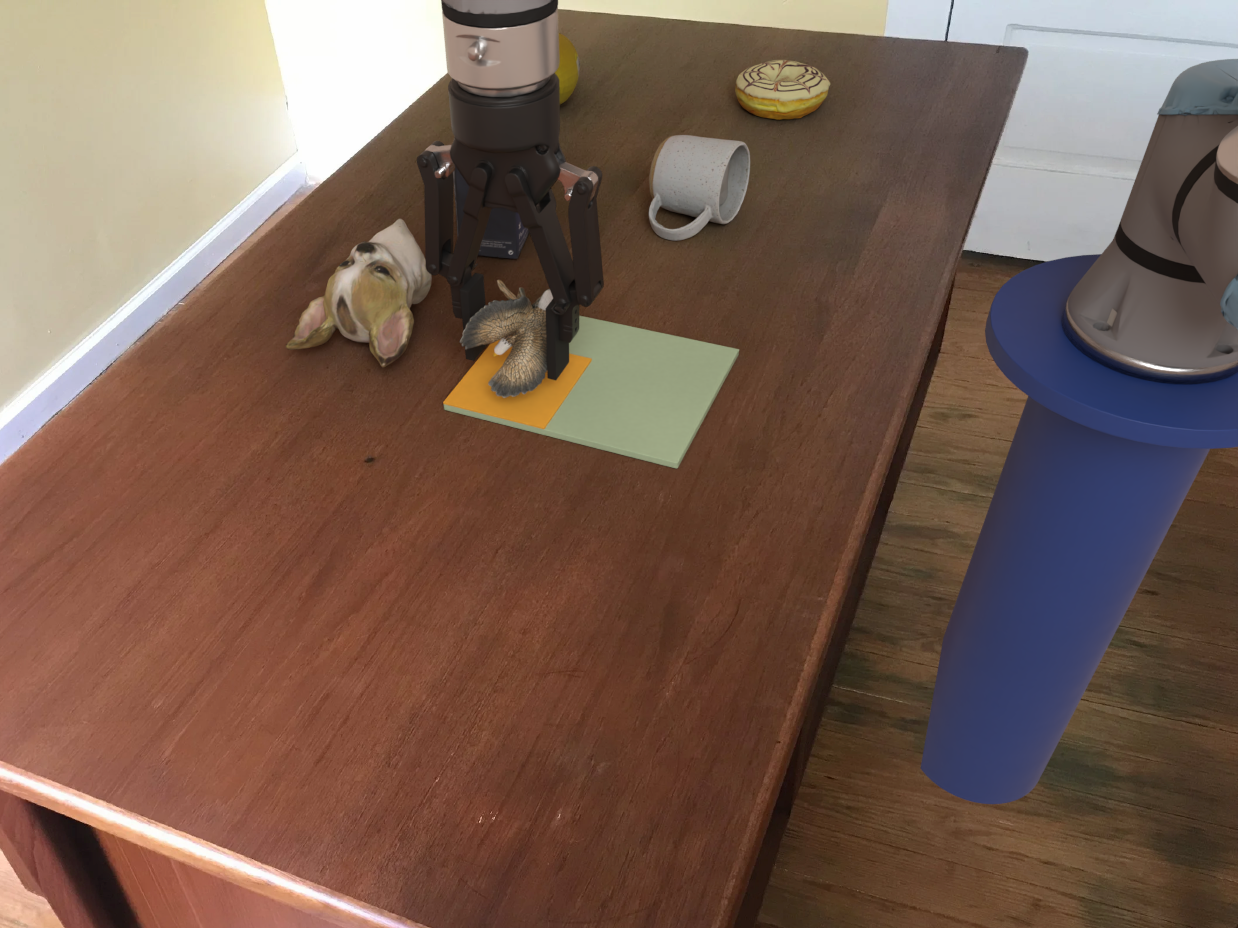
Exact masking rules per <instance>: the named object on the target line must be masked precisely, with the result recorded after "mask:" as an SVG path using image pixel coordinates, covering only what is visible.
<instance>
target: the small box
mask: <svg viewBox="0 0 1238 928" xmlns="http://www.w3.org/2000/svg"><path fill="white" fill-rule="evenodd" d="M453 178H454V203H455V218H456V219H455V220H456V221H455V222H456V235H457V237H456V239H457V238H458V234H459V230H460V227H461V223H462V220H463V216H464V212H463V208H464V204H465V201H466V197H467V193H468V190H469V186H468V184H467V183H466V181H465V180H464V178H463V177H462V175H461V174H460V172H459V171H458V169H457V168H456V166H455V170H454V171H453ZM529 236H530V233H529V230H528V229H527V228H524V227H523V225H522V222H521V219H520V216H519V214H518V213H516V212H512V211H510V210H508V209H506V208H492V209H491V213H490V216H489V219H488V223H487V226H486V229H485V233H484V236H483V239H482V243H481V246H480V250H479V253H478V256H477V257H479V256H480V257H489V258H490V257H491V258H499V259H511V260H512V259H513V260H516V259H517V260H518V258H519V257H520V254H521V252H522V250H523V248H524V245H525V243H526V241H527V239H528V237H529Z"/></svg>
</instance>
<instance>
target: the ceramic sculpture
mask: <svg viewBox="0 0 1238 928" xmlns="http://www.w3.org/2000/svg"><path fill="white" fill-rule="evenodd" d="M432 276H433V275H431V274H430V273H428V272H427V270H426V265H425V254H424V253H423V251H422V249H421V247H420V246H419V244H418V242H417V240H416V238H415V236H414V235H413V234H412V232H411V231H410V229H409V227H408V225H407V224H406V222H405V220H403V219H402V218H398V219H396V220H395V222H394V223H392V224H391V225H389V226H387V227H386V228H384V229H382V230H379V232H376V233H375V235H373V237H371V239H370V240H368V241H367V240H366V241H365V240H364V241H361V242H359V243H358V244H356V245H355V246H354V247H353V248H352V249H351V251H350V254H349V256H348V257H347V258H346V259H345V260H344V261H343V262H341V263H340V264H339V265H337V267H336V268H335V271H334V273H333V274H332V275H330V277H329V278H328V280H327V284H326V288H325V292H324V295H322V296H318V297H316V298H314V299H313V300H311V301H310V302H309V304H308V306H307V307H306V309H304V310H303V311H302V313H301V315H300V317H299V318H298V324H297V325H296V328H295V329H294V334H293V336H292V338H291V339H289V340H288V342H287V343H286V344H285V348H286V350H288V351H294V350H303V349H304V350H305V349H311V348H317V347H319V346H322V345H324V344H325V343H327V342H328V341H329V340H331V338H332V337H333V335H334V333H335V332H336V331H337V330H338V331H339V332H340V334H341V335H342V336H343V337H344V338H346V339H349V340H351V341H353V342H356V343H365V344H368V345H369V351H370V353H371V354H372V355H373V357H374V358H375V359H376V360H377V361H378V363H379V365H380V367H381V368H386V367H387V366H389V365H391V364H392V363H394V362H395V361H397V360H399V358H400V357H402V355H403V354H404V353H405V352H406V350H407V348H408V347H409V343H410V339H411V338H412V333H413V330H414V329H413V328H414V324H415V318H414V315H413V312H412V311H411V308H412V305H418V304H420V303H422V301H423V300H425V298H426V297H427V296H428V294H429V292H430V290H431V287H432V280H433V277H432Z"/></svg>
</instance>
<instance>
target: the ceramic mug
mask: <svg viewBox="0 0 1238 928" xmlns="http://www.w3.org/2000/svg"><path fill="white" fill-rule="evenodd" d="M750 173H751V153H750V150H749V147H748V145H747V143H745V142H744V141H741V140H734V139H722V138H714V137H703V136H697V135H692V134H691V135H690V134H677V135H671V136H668V137H666V138H665V139H664V140H663V141H662V142H661V143H660V144H659V145H658V147H657V149H656V151H655V153H654V155H653V158H652V160H651V164H650V169H649V174H648V175H649V176H648V189H649V194H650V197H651V199H652V200H651V202H650V205H649V207H648V220H649V224H650V226H651V229H652V231H653V232H654V233H655V234H656V235H657V236H658V237H660V238H662V239H664V240H667V241H668V240H669V241H672V242H673V241H674V242H675V241H677V242H678V241H679V242H680V241H682V240H683V241H684V240H687V239H689V238H690V239H691V238H692V237H693V236H696V235H697V234H698V233H700V232H701V231H702V229H704V227H706V226H707V225H708V223H709V222H711V223H714V224H719V225H726V224H727V225H728V224H729V223H730V222H732V221H733V219H735V217H736V216H737V215H738V213H739V211H740V210H741V207H742V205H743V202H744V200H745V196H746V194H747V190H748V185H749V181H750ZM660 208H661V209H664V210H666V211H669V212H673V213H677V214H681V215H686V216H689V217H691V218H692V217H693V218H695V219H694V220H693V221H691V222H690V223H688V224H686V225H684V226H681V227H677V228H667V227H665V226H664V225H662V224H661V223H659V222H658V221H657V220H656V216H657V213H658V212H659V209H660Z"/></svg>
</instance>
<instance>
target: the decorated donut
mask: <svg viewBox="0 0 1238 928" xmlns="http://www.w3.org/2000/svg"><path fill="white" fill-rule="evenodd" d="M830 86H831V82H830V80H829V79H828V78H827V77H826V75H825V74H824V72H822V71H820V70H819V69H818V68H817V67H815V66H812V65H811V64H806V63H802V62H799V61H796V60H795V61H794V60H787V59H773V60H768V61H764V62H760V63H758V64H755V65H751V66H748V67H747V68H745V69H744V70H742V71H741V73H739V74H738V76H737V78H736V80H735V87H734V92H735V95H736V99H737V102H738V103H739V105H740V106H741V107H742V109H744V110H746V111H747V112H748V113H749V114H752V115H754V116H757V117H760V118H763V119H771V120H777V121H780V120H781V121H782V120H794V119H802V118H803V117H805V116H807V115H810V114H811V113H813V112H815V111H816V110H818V109H819V108H820V106H821V105H822V104H823V103H824V101H825V100H826V98H827V96H828V95H829V88H830Z"/></svg>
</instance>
